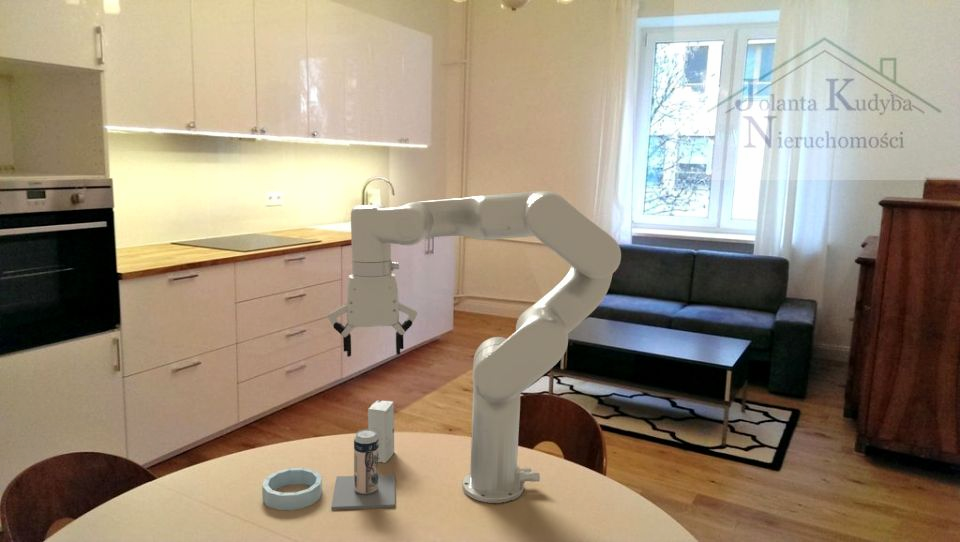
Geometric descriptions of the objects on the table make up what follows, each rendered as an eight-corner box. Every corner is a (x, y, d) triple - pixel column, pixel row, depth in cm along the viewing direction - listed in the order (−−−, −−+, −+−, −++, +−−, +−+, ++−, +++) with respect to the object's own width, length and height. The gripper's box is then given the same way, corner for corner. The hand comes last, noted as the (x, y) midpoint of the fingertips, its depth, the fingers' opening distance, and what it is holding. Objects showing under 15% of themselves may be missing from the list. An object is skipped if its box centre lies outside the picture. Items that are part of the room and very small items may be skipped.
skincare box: (386, 463, 145) (386, 411, 143) (366, 461, 146) (367, 409, 144) (395, 451, 151) (395, 401, 149) (376, 449, 152) (376, 399, 150)
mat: (394, 477, 139) (394, 474, 139) (394, 507, 127) (394, 504, 127) (336, 479, 138) (336, 476, 137) (331, 509, 126) (331, 506, 126)
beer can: (373, 497, 130) (373, 440, 128) (350, 494, 131) (350, 437, 128) (381, 485, 134) (382, 430, 132) (359, 482, 135) (359, 427, 133)
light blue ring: (324, 480, 137) (324, 467, 136) (318, 508, 126) (318, 494, 125) (269, 482, 135) (268, 468, 135) (258, 511, 125) (257, 496, 124)
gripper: (415, 264, 134) (416, 346, 137) (327, 266, 131) (330, 350, 134) (417, 271, 126) (418, 357, 129) (325, 273, 123) (328, 361, 127)
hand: (373, 353), depth 132 cm, fingers open, 9 cm apart
